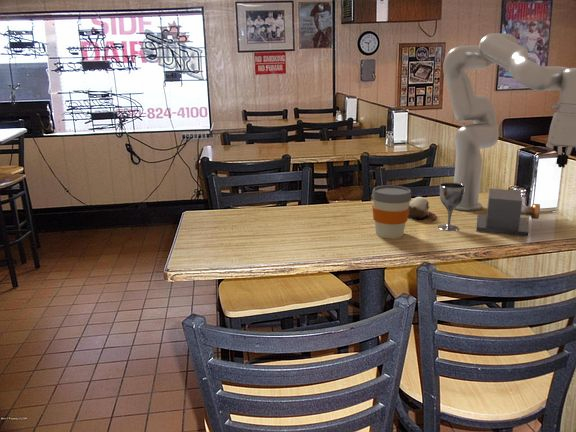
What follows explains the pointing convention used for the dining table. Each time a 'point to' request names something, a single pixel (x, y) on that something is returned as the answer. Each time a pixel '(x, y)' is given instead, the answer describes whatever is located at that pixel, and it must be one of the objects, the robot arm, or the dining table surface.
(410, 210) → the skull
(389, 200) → the reusable coffee cup
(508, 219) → the block
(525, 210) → the shaft
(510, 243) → the dining table surface
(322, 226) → the dining table surface
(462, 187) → the wine glass
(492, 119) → the robot arm
